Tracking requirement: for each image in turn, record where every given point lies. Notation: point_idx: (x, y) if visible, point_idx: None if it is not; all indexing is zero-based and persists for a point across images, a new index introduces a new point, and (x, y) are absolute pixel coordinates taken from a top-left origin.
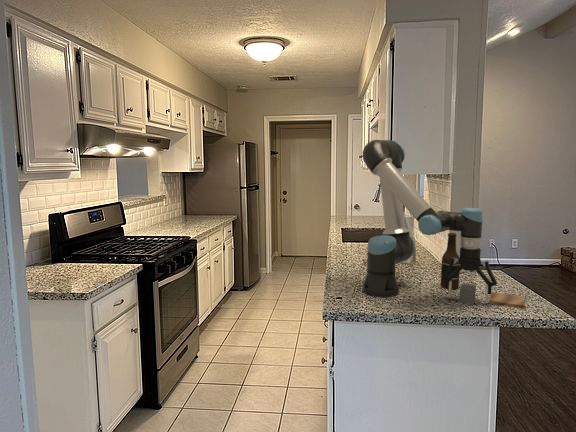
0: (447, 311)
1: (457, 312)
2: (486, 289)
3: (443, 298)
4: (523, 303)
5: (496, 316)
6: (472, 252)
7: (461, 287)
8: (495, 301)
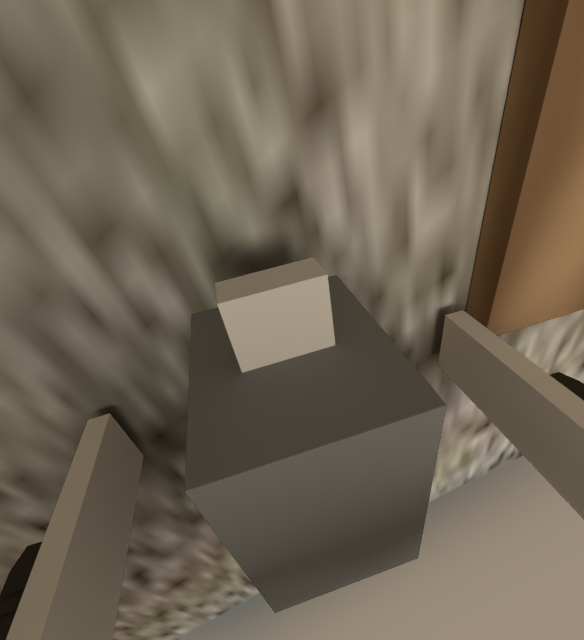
0: None
1: None
2: (555, 479)
3: None
4: None
5: (474, 466)
6: None
7: (277, 598)
8: (530, 325)
